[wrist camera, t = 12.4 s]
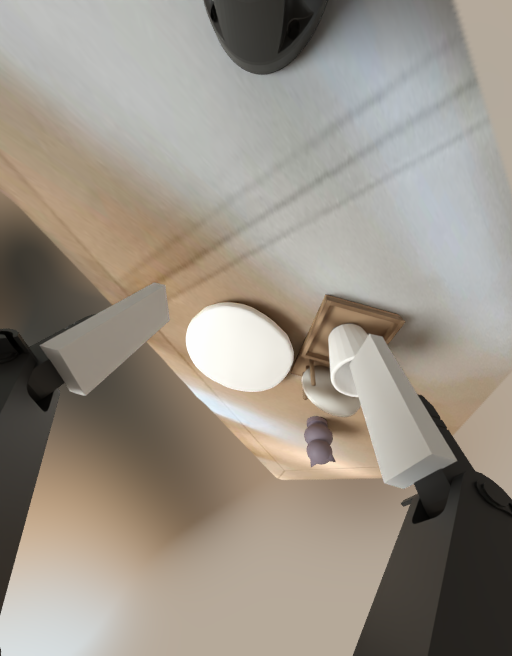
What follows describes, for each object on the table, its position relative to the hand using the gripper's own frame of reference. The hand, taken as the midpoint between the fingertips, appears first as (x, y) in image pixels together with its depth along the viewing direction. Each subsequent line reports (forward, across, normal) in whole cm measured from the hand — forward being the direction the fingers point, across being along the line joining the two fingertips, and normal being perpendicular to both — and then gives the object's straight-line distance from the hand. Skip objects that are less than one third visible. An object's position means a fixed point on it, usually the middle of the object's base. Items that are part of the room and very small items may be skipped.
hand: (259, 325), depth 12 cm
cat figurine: (+28, +23, -50) cm, 62 cm away
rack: (+28, +17, -20) cm, 39 cm away
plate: (+28, -6, -27) cm, 39 cm away
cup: (+27, +18, -16) cm, 36 cm away
